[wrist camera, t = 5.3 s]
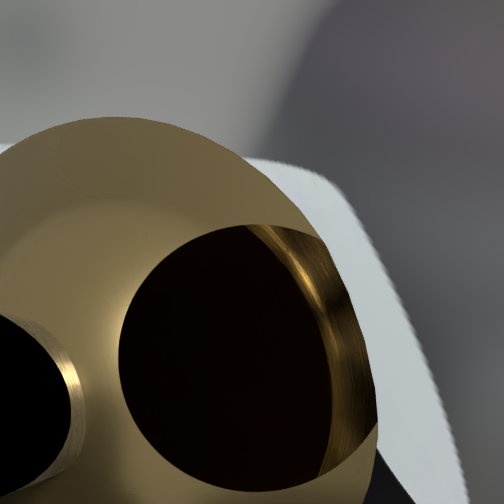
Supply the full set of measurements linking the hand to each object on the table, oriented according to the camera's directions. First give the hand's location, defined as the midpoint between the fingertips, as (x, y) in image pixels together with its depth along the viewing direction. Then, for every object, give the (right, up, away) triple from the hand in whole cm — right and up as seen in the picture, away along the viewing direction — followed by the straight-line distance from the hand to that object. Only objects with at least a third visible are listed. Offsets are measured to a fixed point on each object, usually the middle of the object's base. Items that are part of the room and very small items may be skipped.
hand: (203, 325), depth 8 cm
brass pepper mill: (0, -4, +6) cm, 7 cm away
